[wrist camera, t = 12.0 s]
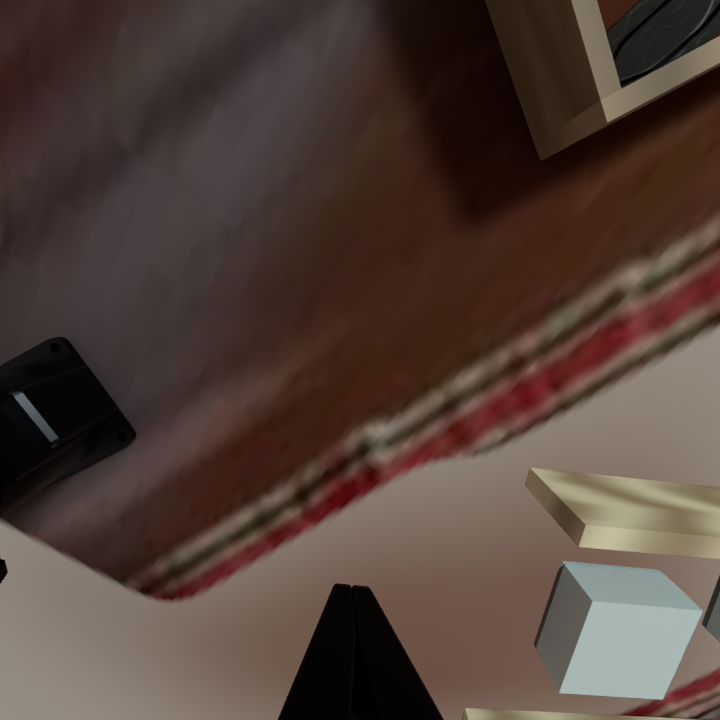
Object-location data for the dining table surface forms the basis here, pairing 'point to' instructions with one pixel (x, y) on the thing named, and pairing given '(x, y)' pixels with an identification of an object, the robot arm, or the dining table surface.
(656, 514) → the box
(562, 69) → the tray
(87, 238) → the dining table surface
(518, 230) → the dining table surface
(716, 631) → the tile
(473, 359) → the dining table surface
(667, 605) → the tile
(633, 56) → the hairbrush
